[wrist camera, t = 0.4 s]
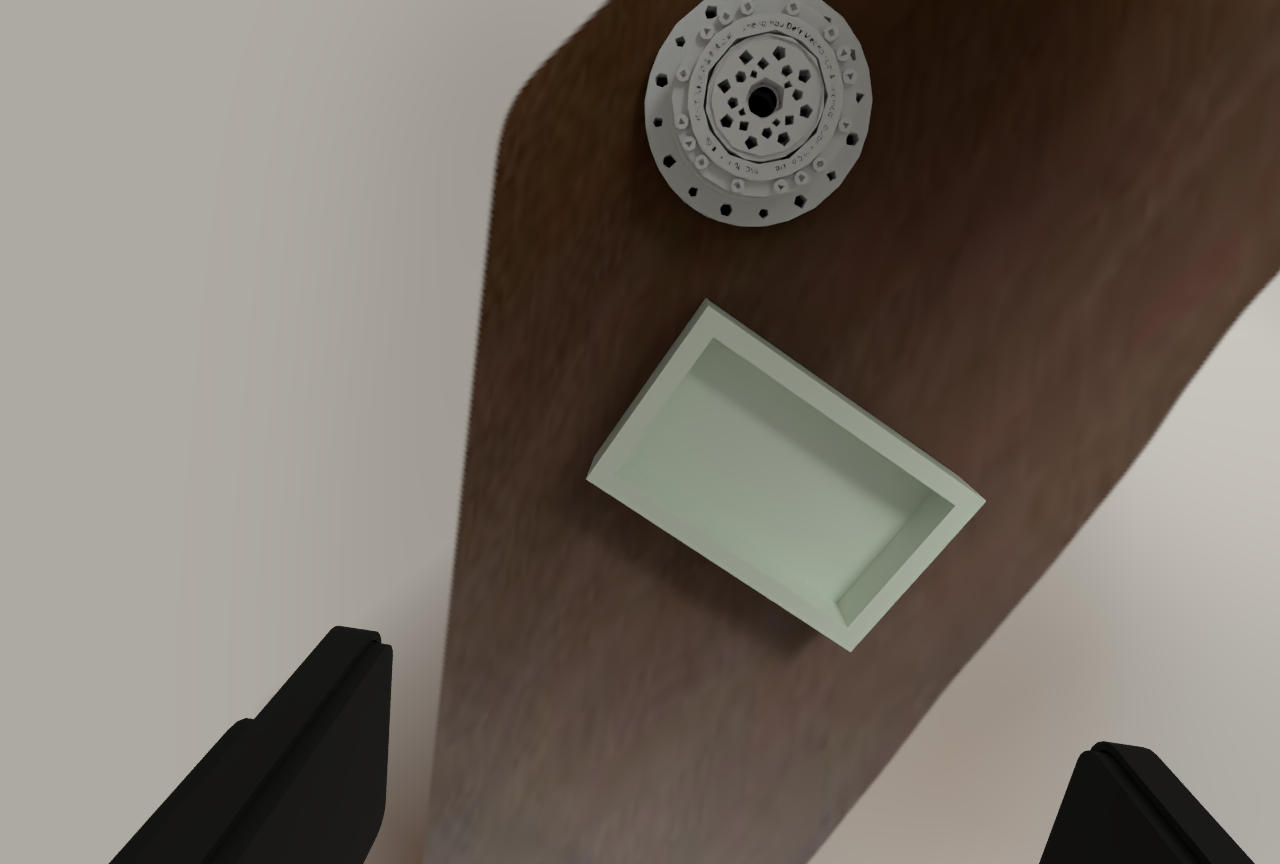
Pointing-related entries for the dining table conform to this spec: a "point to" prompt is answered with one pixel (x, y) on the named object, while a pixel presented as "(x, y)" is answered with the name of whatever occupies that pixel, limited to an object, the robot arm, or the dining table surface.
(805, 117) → the mechanical component
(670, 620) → the dining table surface
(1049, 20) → the dining table surface
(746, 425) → the tray
